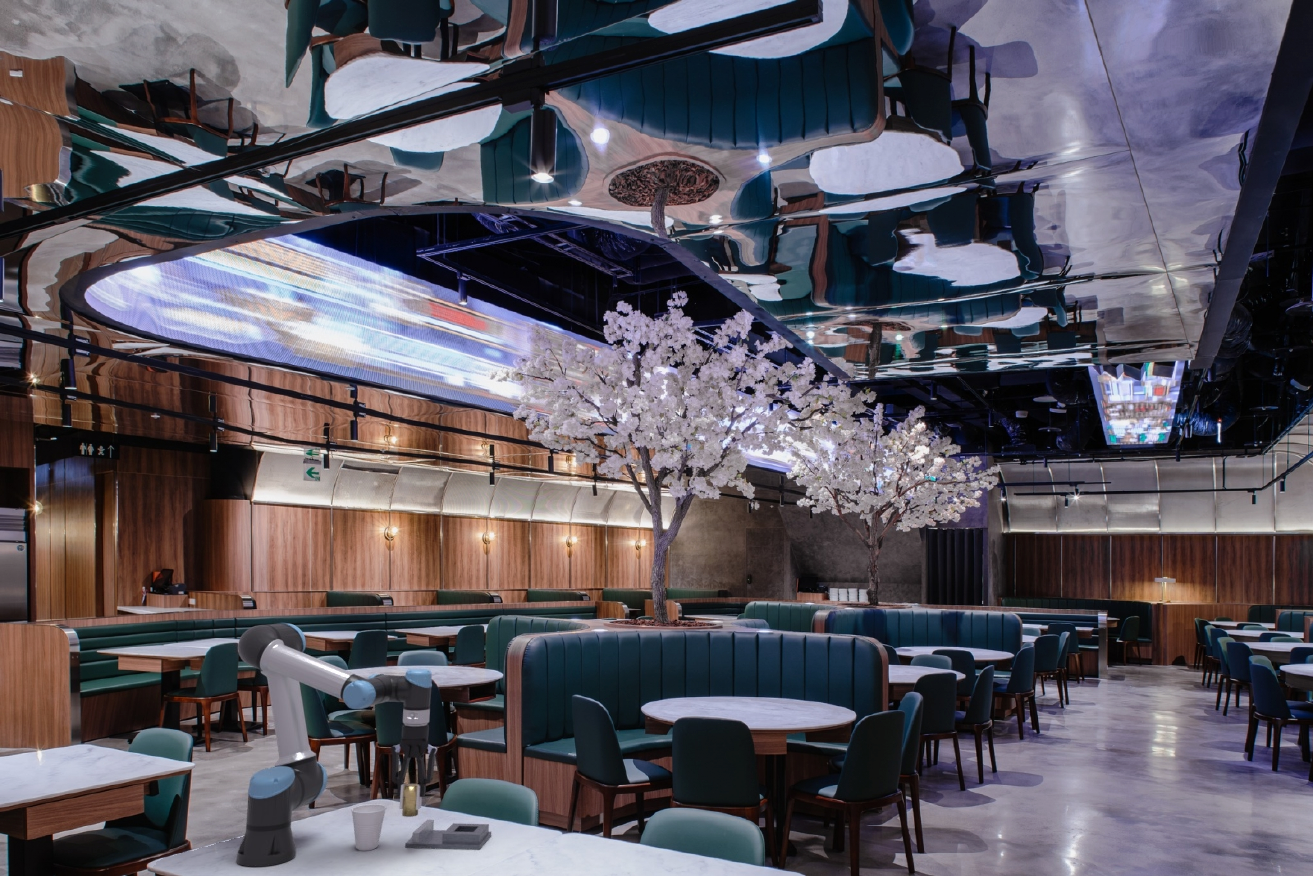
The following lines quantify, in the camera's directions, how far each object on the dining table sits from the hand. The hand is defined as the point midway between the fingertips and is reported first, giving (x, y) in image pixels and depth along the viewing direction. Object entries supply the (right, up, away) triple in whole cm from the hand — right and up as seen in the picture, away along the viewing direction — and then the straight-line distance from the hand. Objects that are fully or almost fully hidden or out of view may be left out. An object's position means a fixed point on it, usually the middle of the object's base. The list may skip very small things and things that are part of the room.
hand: (410, 808), depth 256 cm
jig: (+9, -14, +9) cm, 19 cm away
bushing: (0, -2, 0) cm, 2 cm away
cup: (-13, -13, +3) cm, 19 cm away
